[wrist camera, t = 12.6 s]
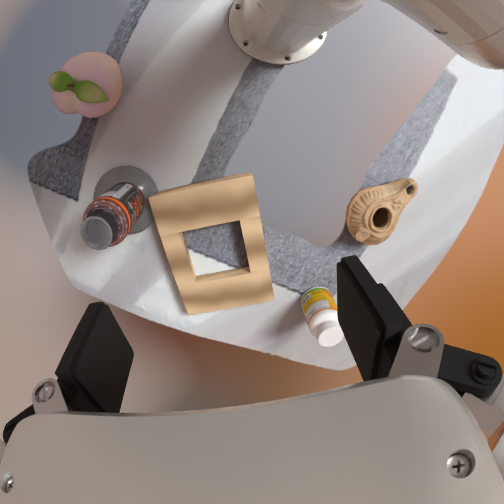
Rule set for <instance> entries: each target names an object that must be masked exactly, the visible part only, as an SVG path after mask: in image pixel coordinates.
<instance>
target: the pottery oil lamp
mask: <svg viewBox="0 0 504 504" xmlns="http://www.w3.org/2000/svg"><path fill="white" fill-rule="evenodd" d="M417 189H418V186H417V183H416V182H415V181H414V180H413V179H410V178H409V179H406V178H403V179H399V180H396V181H394V182H391V183H388V184H384V185H378V186H372V187H367V188H364V189H361V190H359V191H358V192H357V193H356V194H355V195H354V196H353V198H352V199H351V201H350V203H349V205H348V207H347V211H346V223H347V227H348V229H349V231H350V233H351V235H352V236H353V238H355V239H356V240H357V241H359V242H361V243H364V244H367V245H377V244H380V243H382V242H383V241H385V240H386V239H387V238H388V237H389V236H390V235H391V233H392V232H393V231H394V228H395V226H396V224H397V221H398V219H399V216H400V214H401V213H402V211H403V209H404V208H405V206H406V205H407V204H408V202H409V201H410V200H411V199H412V198H413V197H414V196H415V194H416V192H417Z"/></svg>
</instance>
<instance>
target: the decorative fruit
mask: <svg viewBox="0 0 504 504" xmlns="http://www.w3.org/2000/svg"><path fill="white" fill-rule="evenodd" d="M49 83H50V86H51V87H52V98H53V102H54V104H55V106H56V107H57V108H58V109H59V110H60V111H61V112H63V113H66V114H74V113H80V114H81V115H83V116H85V117H87V118H96V117H100V116H102V115H105V114H106V113H108V112H109V111H110V110H111V109H113V107H114V106H115V105H116V104H117V102H118V101H119V99H120V96H121V93H122V84H123V83H122V74H121V70H120V68H119V65H118V64H117V62H116V61H115V60H114V59H113V58H112V57H111V56H109V55H107V54H105V53H101V52H84V53H81V54H78V55H76V56H74V57H72V58H71V59H69V60H68V61H67V62H66V63H65V64H64V65H63V67H62V68H61V70H60V71H58V72H55V73H53V74H52V75H51V76H50V77H49Z"/></svg>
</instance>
